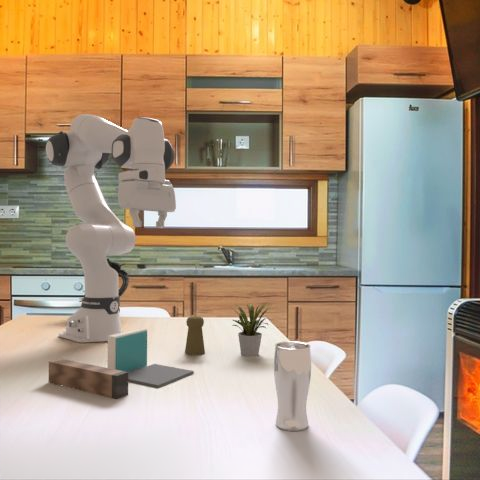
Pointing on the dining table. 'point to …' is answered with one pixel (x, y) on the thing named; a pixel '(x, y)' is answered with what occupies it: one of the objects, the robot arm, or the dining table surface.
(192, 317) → the olive tapered upright piece
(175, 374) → the mat
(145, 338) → the tile
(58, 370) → the wooden handle bar
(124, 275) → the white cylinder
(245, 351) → the house plant
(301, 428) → the beer glass
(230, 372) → the dining table surface
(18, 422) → the dining table surface
